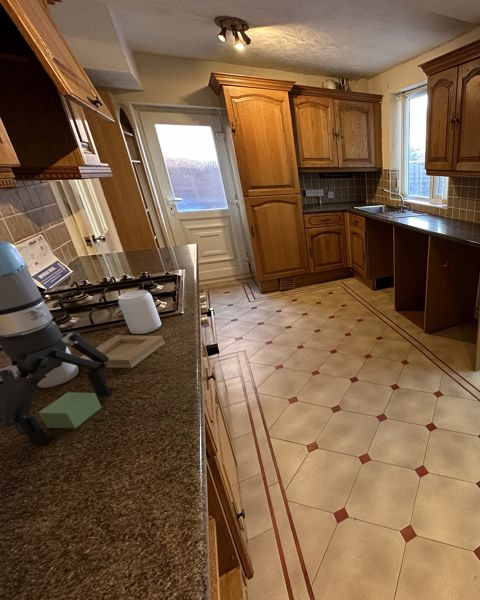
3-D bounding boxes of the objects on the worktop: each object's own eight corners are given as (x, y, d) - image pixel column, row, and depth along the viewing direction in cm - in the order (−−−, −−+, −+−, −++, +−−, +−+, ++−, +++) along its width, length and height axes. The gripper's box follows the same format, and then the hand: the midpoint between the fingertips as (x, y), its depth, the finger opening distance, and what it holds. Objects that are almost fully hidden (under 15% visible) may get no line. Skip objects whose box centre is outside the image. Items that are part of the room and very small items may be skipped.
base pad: (80, 366, 84) (76, 358, 83) (119, 342, 95) (116, 335, 94) (132, 368, 83) (128, 360, 82) (165, 343, 94) (162, 335, 93)
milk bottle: (79, 365, 84) (43, 295, 76) (80, 378, 79) (42, 305, 71) (37, 378, 80) (-6, 305, 71) (36, 393, 74) (-11, 316, 66)
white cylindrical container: (150, 335, 98) (136, 299, 93) (124, 335, 98) (109, 300, 93) (167, 323, 105) (156, 289, 101) (143, 323, 106) (130, 289, 101)
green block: (47, 427, 65) (37, 412, 63) (76, 406, 70) (68, 392, 69) (75, 428, 65) (66, 413, 63) (102, 407, 70) (94, 392, 68)
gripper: (-45, 369, 47) (27, 469, 56) (105, 299, 70) (139, 379, 79) (-92, 368, 48) (-14, 468, 56) (72, 299, 70) (110, 378, 79)
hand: (76, 416), depth 67 cm, fingers open, 13 cm apart
